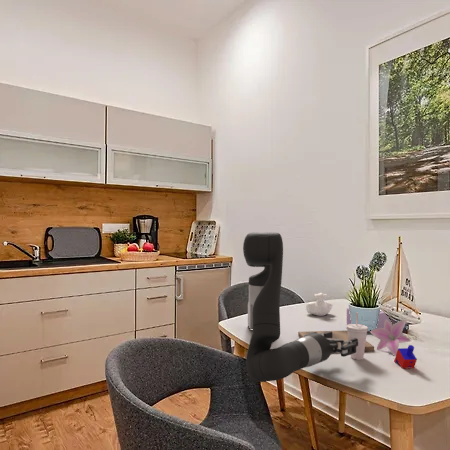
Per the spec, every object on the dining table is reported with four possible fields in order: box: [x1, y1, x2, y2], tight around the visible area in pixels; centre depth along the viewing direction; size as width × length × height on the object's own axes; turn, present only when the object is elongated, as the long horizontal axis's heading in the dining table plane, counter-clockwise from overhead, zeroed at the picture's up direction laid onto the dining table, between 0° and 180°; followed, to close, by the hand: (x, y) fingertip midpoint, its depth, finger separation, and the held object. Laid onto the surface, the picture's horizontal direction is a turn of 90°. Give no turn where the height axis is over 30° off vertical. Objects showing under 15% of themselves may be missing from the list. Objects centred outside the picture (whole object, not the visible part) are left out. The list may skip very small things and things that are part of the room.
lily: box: [369, 319, 411, 357], centre depth 126 cm, size 12×12×10 cm
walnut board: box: [297, 329, 375, 352], centre depth 132 cm, size 20×18×2 cm
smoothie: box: [345, 312, 369, 361], centre depth 119 cm, size 6×6×14 cm
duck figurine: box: [305, 292, 334, 317], centre depth 170 cm, size 12×8×11 cm
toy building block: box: [393, 344, 418, 369], centre depth 111 cm, size 4×4×8 cm
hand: (343, 338), depth 114 cm, fingers open, 8 cm apart
